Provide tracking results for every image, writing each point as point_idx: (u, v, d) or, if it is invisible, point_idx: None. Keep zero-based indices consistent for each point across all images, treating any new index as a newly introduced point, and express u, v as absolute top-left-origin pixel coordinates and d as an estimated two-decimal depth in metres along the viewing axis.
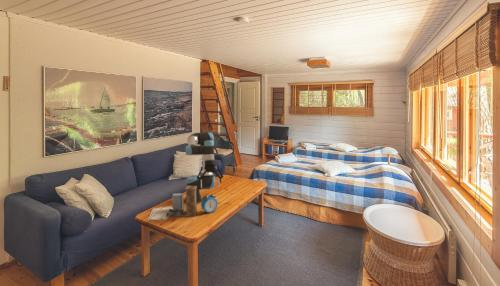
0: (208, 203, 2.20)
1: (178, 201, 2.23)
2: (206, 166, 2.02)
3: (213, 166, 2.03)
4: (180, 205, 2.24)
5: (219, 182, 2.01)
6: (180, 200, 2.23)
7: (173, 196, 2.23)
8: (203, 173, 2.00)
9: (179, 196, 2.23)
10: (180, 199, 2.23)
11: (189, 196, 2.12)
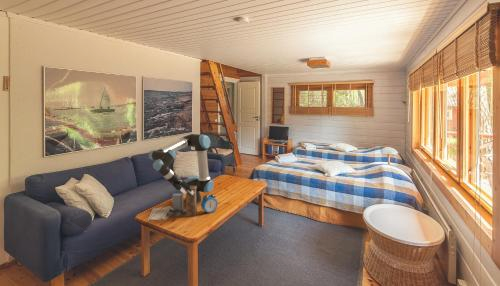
0: (208, 203, 2.20)
1: (178, 201, 2.23)
2: None
3: (176, 180, 1.96)
4: (180, 205, 2.24)
5: (189, 192, 2.02)
6: (180, 200, 2.23)
7: (173, 196, 2.23)
8: (176, 186, 2.03)
9: (179, 196, 2.23)
10: (180, 199, 2.23)
11: (189, 196, 2.12)
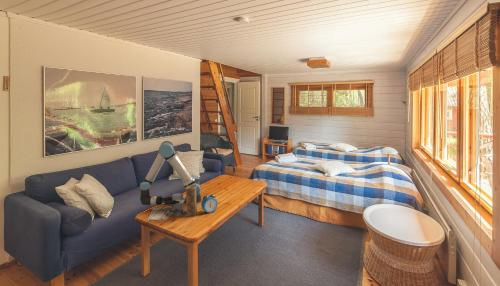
0: (208, 203, 2.20)
1: None
2: None
3: None
4: (180, 205, 2.24)
5: None
6: None
7: (173, 196, 2.23)
8: None
9: (179, 196, 2.23)
10: (180, 199, 2.23)
11: (189, 196, 2.12)
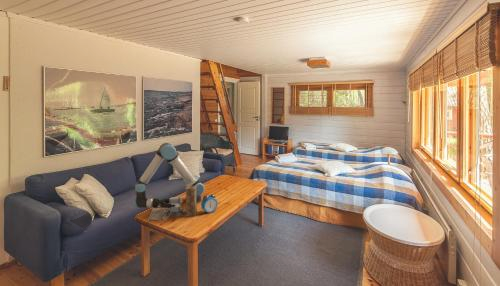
0: (208, 203, 2.20)
1: None
2: None
3: None
4: (177, 209, 2.15)
5: (175, 206, 2.12)
6: None
7: (170, 200, 2.14)
8: (168, 202, 2.20)
9: (176, 200, 2.14)
10: (177, 203, 2.14)
11: (189, 196, 2.12)
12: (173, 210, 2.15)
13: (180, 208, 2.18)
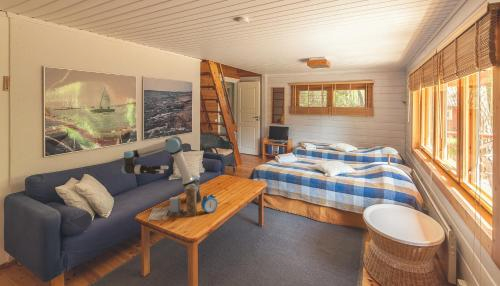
0: (208, 203, 2.20)
1: (175, 205, 2.15)
2: None
3: None
4: (177, 209, 2.15)
5: None
6: (177, 204, 2.14)
7: (170, 200, 2.14)
8: None
9: (176, 200, 2.14)
10: (177, 203, 2.14)
11: (189, 196, 2.12)
12: (173, 210, 2.15)
13: (180, 208, 2.18)
